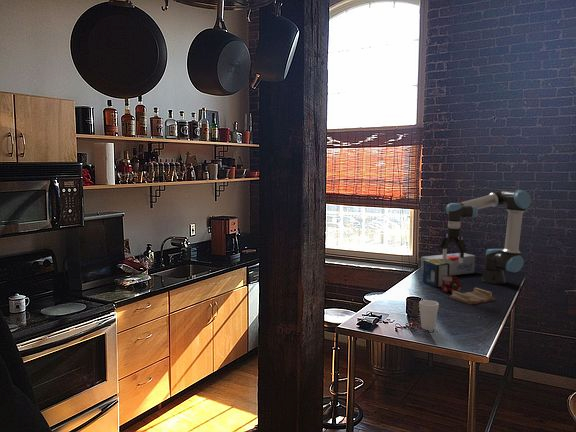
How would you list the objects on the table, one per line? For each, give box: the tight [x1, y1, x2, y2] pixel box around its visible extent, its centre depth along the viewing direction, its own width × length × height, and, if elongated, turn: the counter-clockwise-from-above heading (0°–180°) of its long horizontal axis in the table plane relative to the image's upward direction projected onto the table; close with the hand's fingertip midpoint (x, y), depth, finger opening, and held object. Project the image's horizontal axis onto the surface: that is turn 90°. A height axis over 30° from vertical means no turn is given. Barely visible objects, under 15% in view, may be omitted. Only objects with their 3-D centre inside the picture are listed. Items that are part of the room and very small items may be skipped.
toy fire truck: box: [441, 275, 463, 295], centre depth 309 cm, size 7×12×10 cm, turn 54°
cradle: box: [449, 287, 495, 305], centre depth 295 cm, size 20×16×4 cm
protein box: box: [422, 259, 450, 288], centre depth 330 cm, size 10×15×16 cm
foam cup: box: [418, 299, 440, 331], centre depth 243 cm, size 10×9×13 cm
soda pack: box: [420, 252, 476, 276], centre depth 360 cm, size 41×13×14 cm, turn 112°
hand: (452, 260), depth 307 cm, fingers open, 13 cm apart
